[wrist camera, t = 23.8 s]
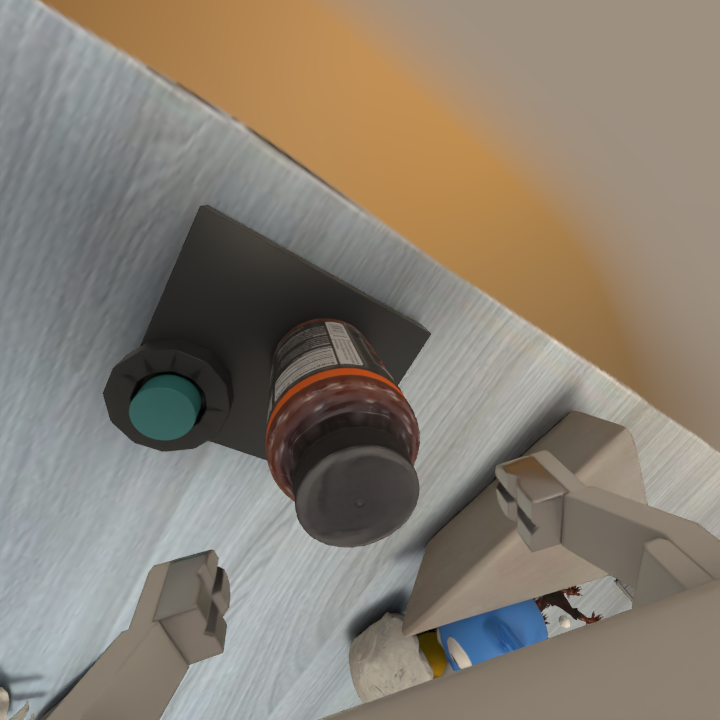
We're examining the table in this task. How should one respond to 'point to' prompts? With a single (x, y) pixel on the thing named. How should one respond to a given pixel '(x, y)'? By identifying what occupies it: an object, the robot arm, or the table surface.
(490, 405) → the table surface
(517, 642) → the blue mole toy
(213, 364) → the black button pad
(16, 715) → the woman figurine
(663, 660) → the robot arm
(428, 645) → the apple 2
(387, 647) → the pebble
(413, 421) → the supplement bottle
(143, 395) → the button
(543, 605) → the demon figurine
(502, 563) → the grey wedge
